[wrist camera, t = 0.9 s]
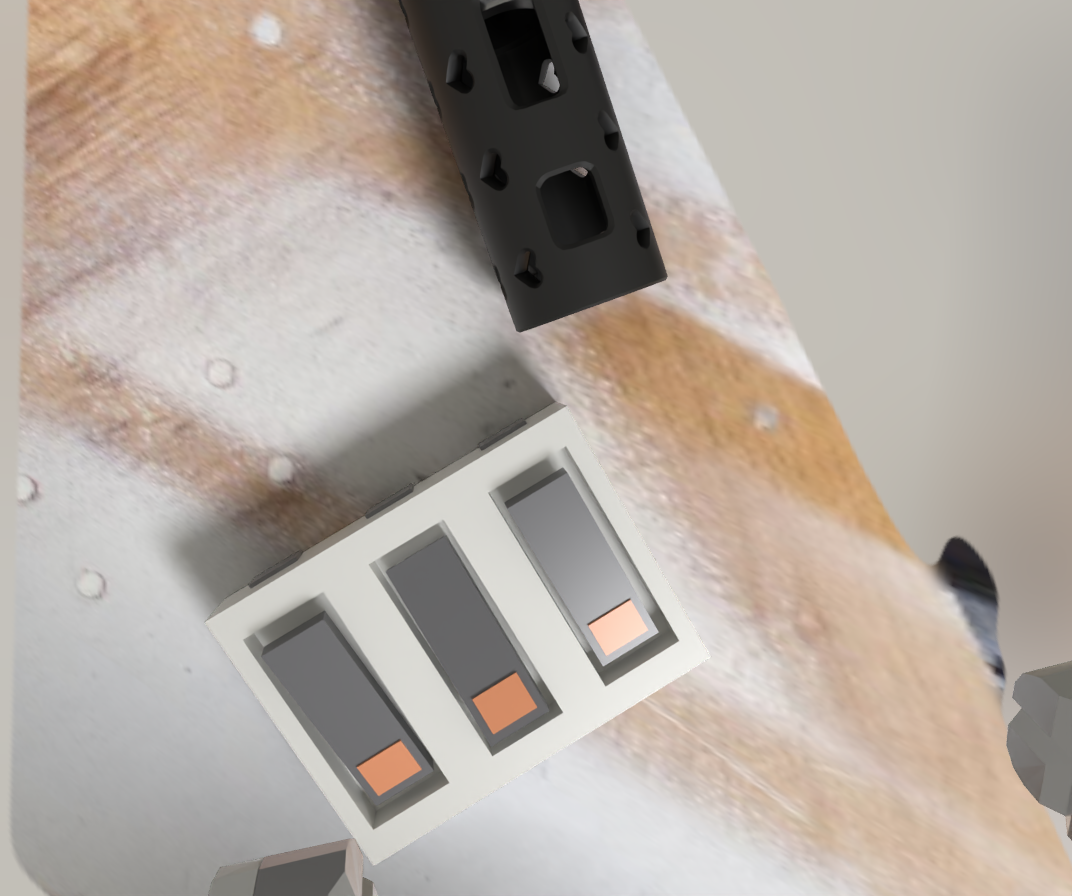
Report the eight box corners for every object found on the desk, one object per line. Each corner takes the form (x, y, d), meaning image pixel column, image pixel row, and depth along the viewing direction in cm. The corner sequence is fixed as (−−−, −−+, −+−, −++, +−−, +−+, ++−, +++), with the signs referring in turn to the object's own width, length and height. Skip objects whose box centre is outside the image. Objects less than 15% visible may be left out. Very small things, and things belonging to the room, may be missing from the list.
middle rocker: (548, 704, 48) (549, 711, 46) (491, 739, 48) (491, 747, 46) (445, 534, 48) (444, 536, 46) (388, 568, 47) (385, 572, 46)
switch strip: (688, 632, 53) (711, 657, 49) (379, 823, 52) (373, 866, 48) (553, 398, 50) (564, 402, 46) (223, 595, 49) (201, 618, 45)
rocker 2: (652, 623, 50) (659, 633, 49) (598, 657, 50) (603, 667, 48) (562, 467, 46) (567, 473, 45) (504, 502, 46) (507, 509, 45)
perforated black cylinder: (504, 337, 50) (521, 332, 40) (338, -125, 46) (309, -264, 35) (644, 286, 50) (697, 268, 40) (493, -173, 46) (508, -324, 36)
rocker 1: (432, 758, 49) (434, 772, 48) (376, 793, 49) (376, 807, 48) (324, 610, 46) (323, 620, 44) (263, 646, 45) (260, 658, 44)
